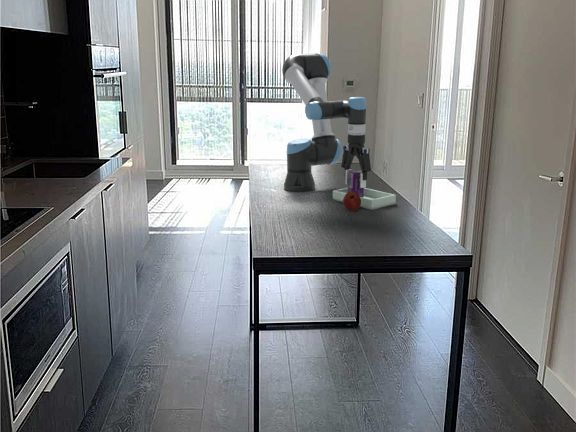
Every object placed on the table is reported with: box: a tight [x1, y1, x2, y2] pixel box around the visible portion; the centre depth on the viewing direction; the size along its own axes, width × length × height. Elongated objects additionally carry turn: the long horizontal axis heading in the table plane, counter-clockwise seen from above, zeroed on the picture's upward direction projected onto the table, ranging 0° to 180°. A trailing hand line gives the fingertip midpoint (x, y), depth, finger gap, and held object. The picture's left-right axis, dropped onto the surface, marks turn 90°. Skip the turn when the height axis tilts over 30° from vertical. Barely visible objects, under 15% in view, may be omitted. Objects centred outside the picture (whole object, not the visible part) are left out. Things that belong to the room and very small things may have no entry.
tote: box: [332, 187, 397, 211], centre depth 244 cm, size 24×15×4 cm, turn 38°
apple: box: [342, 192, 361, 212], centre depth 230 cm, size 7×8×8 cm
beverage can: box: [347, 169, 365, 197], centre depth 247 cm, size 7×7×12 cm
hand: (355, 185), depth 246 cm, fingers open, 8 cm apart
